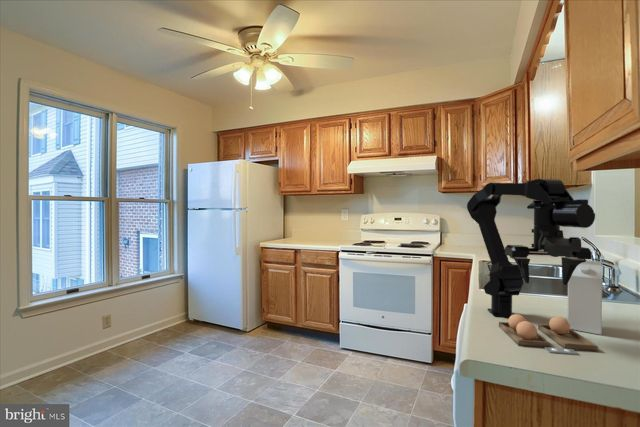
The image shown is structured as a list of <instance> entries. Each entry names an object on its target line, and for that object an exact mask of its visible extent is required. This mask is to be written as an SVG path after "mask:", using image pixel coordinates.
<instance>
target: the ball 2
mask: <svg viewBox="0 0 640 427" xmlns="http://www.w3.org/2000/svg"><path fill="white" fill-rule="evenodd" d="M516 330H517V333H518V335H519V336H520V337H521V338H523V339H526V340H531V339H534V338H535V337H536V335H537V333H538V328H537V327H536V326H535V324H534V323H532V322H530V321H522V322H520V323H518V325H517V327H516Z"/></svg>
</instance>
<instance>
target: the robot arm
mask: <svg viewBox="0 0 640 427" xmlns="http://www.w3.org/2000/svg"><path fill="white" fill-rule="evenodd" d="M491 195H492V197H490V196H491ZM506 195H507V196H522V197H525V198H527V199H531V200H533V201H532V202H531V203H530V204H528V206H526V209H528V210H529V209H530V210H533V228H531V233H533V243H531V247H529V246H527V245H526V246H525V245H523V244H507V245H506V246H505V245H504V243H503V241H502V238H501V237H502V236H500V235H501V234H500V232H499V229H498V226H497V224H496V219H495V218H496V215H497V212H498V211H497V207H498V205H499V204H500V203H501V199H502V196H506ZM466 208H467V209H466V210H467V212H468V213H469V215H470V217H471V219H472V220H473V221H474V222H476V224H478V228H479V229H480V233H481V236H482V238H483V242H484V245H485V248H486V251H487V254H488V257H489V260H490V261H489V262H490V263H491V267H490V271H489V279H490V280H489V281H488V282H487V283H486V284H485V285H484V286H483V290H484V293H485V294H486V295H489V296H491V298H490V299H491V305H490V306H491V308H487V309H486V310H487V311H488V312H489V313H490V314H491V315H492V316H494V317H504V318H509V317H510V316H511V315H514V314H515V313H514V312H513V296H519V295H520V293H521V290H522V287H523V285H524V282H525V283H526V284H530V268H529V267H530V266H529V265H530V261H531V258H528V256H530V255H531V256H532V255H533V256H550V257H553V258H558V257H560V258H561V277H562V278H561V279H562V284H563V285H564V286H568V282H569V280H570V278H571V276H572V273H573V272H574V270H575V268H576V267H577V266H578V265H579V264H580V263H582V262H586V260H592V259H593V253H592V251H591V249H590V248H589V247H584V246H582V239H581V238H580V237H578V236H571V237H568V238H565V237H564V231H563V230H562V229H561V227H563V228H579V229H580V228H581V229H582V228H583V229H584V228H585V229H586V228H590V227H591V226H592V225H593V224H594V222H595V220H596V213H595V211H594V209H593V207H592V206H591V205H590V204H589V200H588V199H582V198H581V199H574V198H573V196H572V195H571V194H570V193H569V191H568V190H567V189H566V186H565V184H564V182H563V181H562V180H561V179H555V178H551V179H550V178H537V179H531V180H528V181H526V182H493V181H491V182H488V183H486V184H485V186H484V187H483V188H482V189H480V190H479V191H477V192H475V193H474V194H473V195H472V196H471V198H470V199H469V200H468V202H466ZM508 257H509V258H510V259H513V260H514V261H515V264H516V265H514V264H513V263H511V262H510V260H509V258H508Z"/></svg>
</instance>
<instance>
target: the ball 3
mask: <svg viewBox="0 0 640 427" xmlns="http://www.w3.org/2000/svg"><path fill="white" fill-rule="evenodd" d="M567 320H568V319H566V318H565V317H563V316H553V317H552V318H550V320H549V324H548V325H549V326H550V328H551V330H552V331H554V332H555V333H557V334H566V333H567V332H568V331H569V330H570V324H569V322H568V321H567Z"/></svg>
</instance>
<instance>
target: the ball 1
mask: <svg viewBox="0 0 640 427" xmlns="http://www.w3.org/2000/svg"><path fill="white" fill-rule="evenodd" d="M522 321H527V319H526V317H524V316H523V315H521V314H520V313H518V314H517V313H514V315H511V316H510V317H508V320H507V322H508V323H509V326H510V327H511V328H512V329H513V330H515V331H517V330H516V327H517V325H518V323H520V322H522Z"/></svg>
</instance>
